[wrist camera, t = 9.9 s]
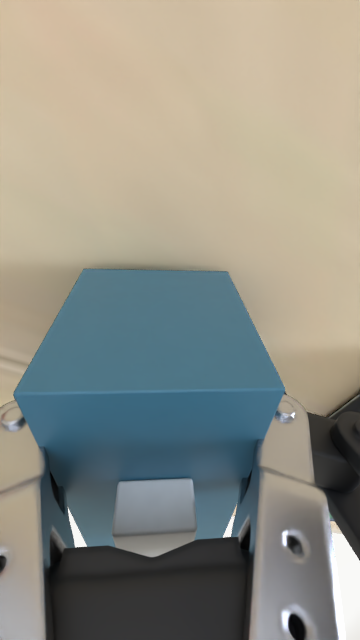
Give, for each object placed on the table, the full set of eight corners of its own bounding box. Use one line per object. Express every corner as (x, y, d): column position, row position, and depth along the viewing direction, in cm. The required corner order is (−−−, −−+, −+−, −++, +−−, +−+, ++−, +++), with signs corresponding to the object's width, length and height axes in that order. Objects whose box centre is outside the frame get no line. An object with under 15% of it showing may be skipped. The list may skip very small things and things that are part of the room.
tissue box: (113, 439, 16) (88, 604, 10) (83, 268, 9) (-29, 461, 4) (199, 437, 16) (220, 594, 11) (227, 270, 10) (316, 449, 4)
